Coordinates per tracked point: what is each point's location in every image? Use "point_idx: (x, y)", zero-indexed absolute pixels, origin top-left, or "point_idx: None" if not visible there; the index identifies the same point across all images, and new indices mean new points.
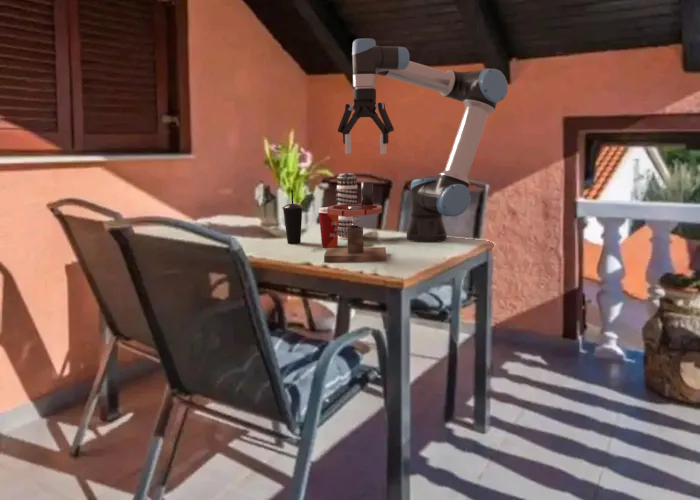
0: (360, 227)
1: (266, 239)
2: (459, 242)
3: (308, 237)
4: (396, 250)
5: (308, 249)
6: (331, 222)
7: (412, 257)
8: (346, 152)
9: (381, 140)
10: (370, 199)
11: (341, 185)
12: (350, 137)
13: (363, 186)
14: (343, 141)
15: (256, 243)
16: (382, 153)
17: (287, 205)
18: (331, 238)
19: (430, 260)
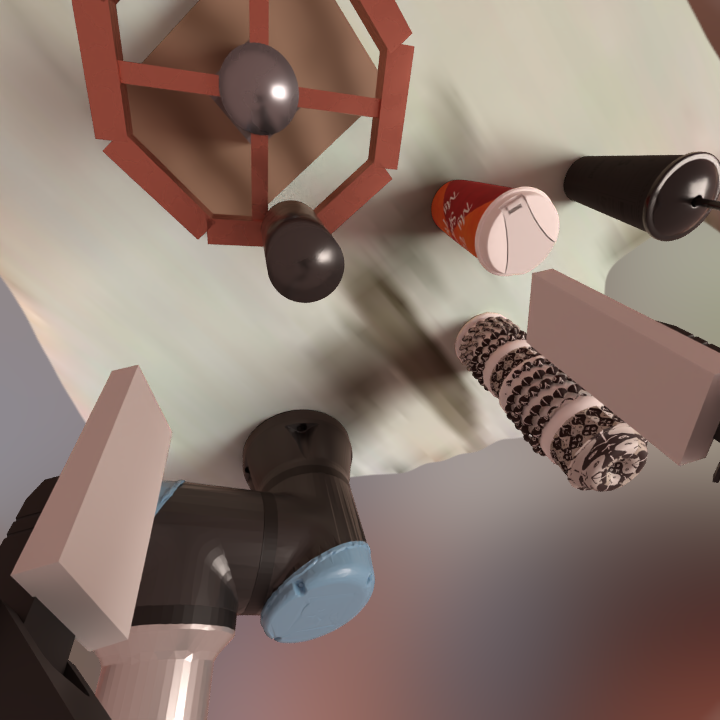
0: None
1: None
2: (194, 472)
3: (584, 275)
4: (240, 288)
5: (484, 117)
6: (470, 205)
7: (105, 230)
8: (547, 275)
9: (72, 478)
10: (263, 230)
11: (593, 407)
12: (645, 422)
13: (299, 221)
14: (679, 331)
15: (689, 92)
16: (112, 378)
17: (706, 172)
18: (447, 196)
19: (12, 228)
